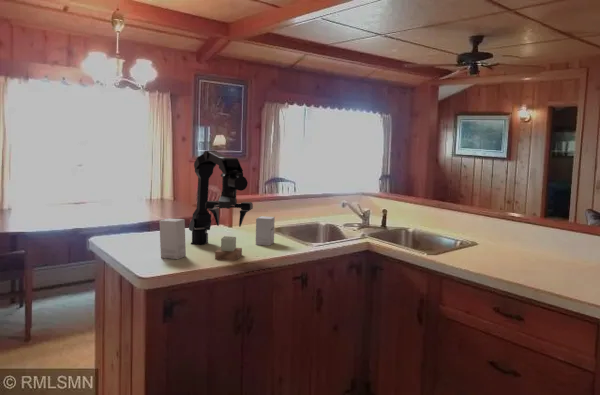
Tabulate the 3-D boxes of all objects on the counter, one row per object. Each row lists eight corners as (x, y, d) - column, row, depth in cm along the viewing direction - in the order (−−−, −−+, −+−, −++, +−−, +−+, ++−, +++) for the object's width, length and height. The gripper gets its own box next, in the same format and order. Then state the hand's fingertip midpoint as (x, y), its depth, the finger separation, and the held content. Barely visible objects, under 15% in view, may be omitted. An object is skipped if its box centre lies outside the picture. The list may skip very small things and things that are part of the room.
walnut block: (215, 260, 188) (215, 251, 187) (221, 255, 197) (221, 246, 196) (236, 261, 187) (236, 252, 186) (241, 256, 196) (241, 248, 195)
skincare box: (186, 256, 191) (186, 219, 189) (176, 260, 185) (176, 221, 183) (168, 254, 194) (168, 217, 192) (159, 257, 187) (158, 219, 186)
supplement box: (270, 245, 215) (270, 219, 214) (255, 244, 217) (255, 218, 215) (274, 242, 222) (275, 216, 221) (259, 241, 224) (260, 215, 222)
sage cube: (221, 250, 189) (221, 238, 189) (224, 247, 194) (224, 236, 194) (233, 251, 189) (233, 239, 188) (235, 248, 194) (236, 236, 193)
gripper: (200, 189, 182) (200, 228, 184) (247, 191, 180) (246, 230, 182) (209, 187, 193) (209, 223, 195) (253, 188, 191) (252, 225, 193)
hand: (228, 226), depth 191 cm, fingers open, 9 cm apart
